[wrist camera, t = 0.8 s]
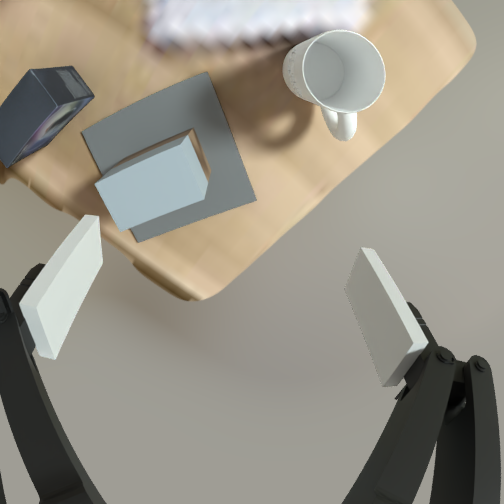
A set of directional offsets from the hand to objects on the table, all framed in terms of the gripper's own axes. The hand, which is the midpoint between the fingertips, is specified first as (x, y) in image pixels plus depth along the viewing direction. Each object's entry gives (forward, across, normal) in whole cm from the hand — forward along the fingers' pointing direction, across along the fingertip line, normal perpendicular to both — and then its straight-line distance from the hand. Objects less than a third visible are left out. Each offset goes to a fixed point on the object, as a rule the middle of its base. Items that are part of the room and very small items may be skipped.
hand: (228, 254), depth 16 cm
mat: (+27, -8, -4) cm, 28 cm away
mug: (+27, +9, +8) cm, 30 cm away
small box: (+27, -24, +3) cm, 37 cm away
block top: (+21, -8, -4) cm, 23 cm away
